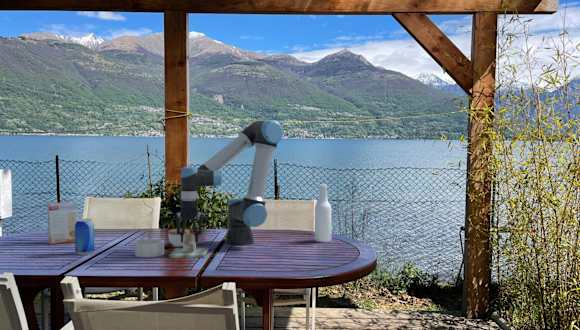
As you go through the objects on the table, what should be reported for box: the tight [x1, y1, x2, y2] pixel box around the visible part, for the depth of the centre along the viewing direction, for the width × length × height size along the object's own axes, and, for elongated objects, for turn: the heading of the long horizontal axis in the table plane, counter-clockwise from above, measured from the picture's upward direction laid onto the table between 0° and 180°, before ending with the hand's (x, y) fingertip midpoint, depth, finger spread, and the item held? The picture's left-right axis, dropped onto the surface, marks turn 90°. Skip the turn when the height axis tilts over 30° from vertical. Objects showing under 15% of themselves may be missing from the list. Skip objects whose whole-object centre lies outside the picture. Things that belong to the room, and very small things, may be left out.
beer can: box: [74, 218, 95, 256], centre depth 254 cm, size 8×8×16 cm
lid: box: [168, 233, 210, 259], centre depth 253 cm, size 16×16×9 cm
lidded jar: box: [167, 228, 191, 248], centre depth 273 cm, size 11×11×9 cm
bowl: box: [134, 238, 165, 258], centre depth 253 cm, size 13×13×6 cm
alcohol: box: [314, 183, 332, 243], centre depth 284 cm, size 9×9×30 cm
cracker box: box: [46, 201, 79, 245], centre depth 281 cm, size 14×6×21 cm, turn 123°
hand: (189, 249), depth 253 cm, fingers closed on lid, 4 cm apart
